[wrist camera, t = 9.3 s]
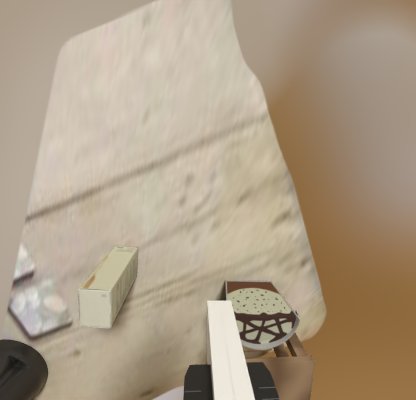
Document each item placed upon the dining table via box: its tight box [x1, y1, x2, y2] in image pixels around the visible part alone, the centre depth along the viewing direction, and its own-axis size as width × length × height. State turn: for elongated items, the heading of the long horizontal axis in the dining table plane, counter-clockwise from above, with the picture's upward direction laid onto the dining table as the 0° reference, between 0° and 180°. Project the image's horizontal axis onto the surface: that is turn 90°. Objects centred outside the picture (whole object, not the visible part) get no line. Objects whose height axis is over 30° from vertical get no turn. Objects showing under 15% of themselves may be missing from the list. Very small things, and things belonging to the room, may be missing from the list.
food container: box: [225, 280, 300, 349], centre depth 36 cm, size 12×6×10 cm, turn 87°
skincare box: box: [78, 246, 138, 328], centre depth 33 cm, size 6×4×12 cm
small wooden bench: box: [242, 332, 315, 400], centre depth 36 cm, size 13×8×13 cm, turn 90°
